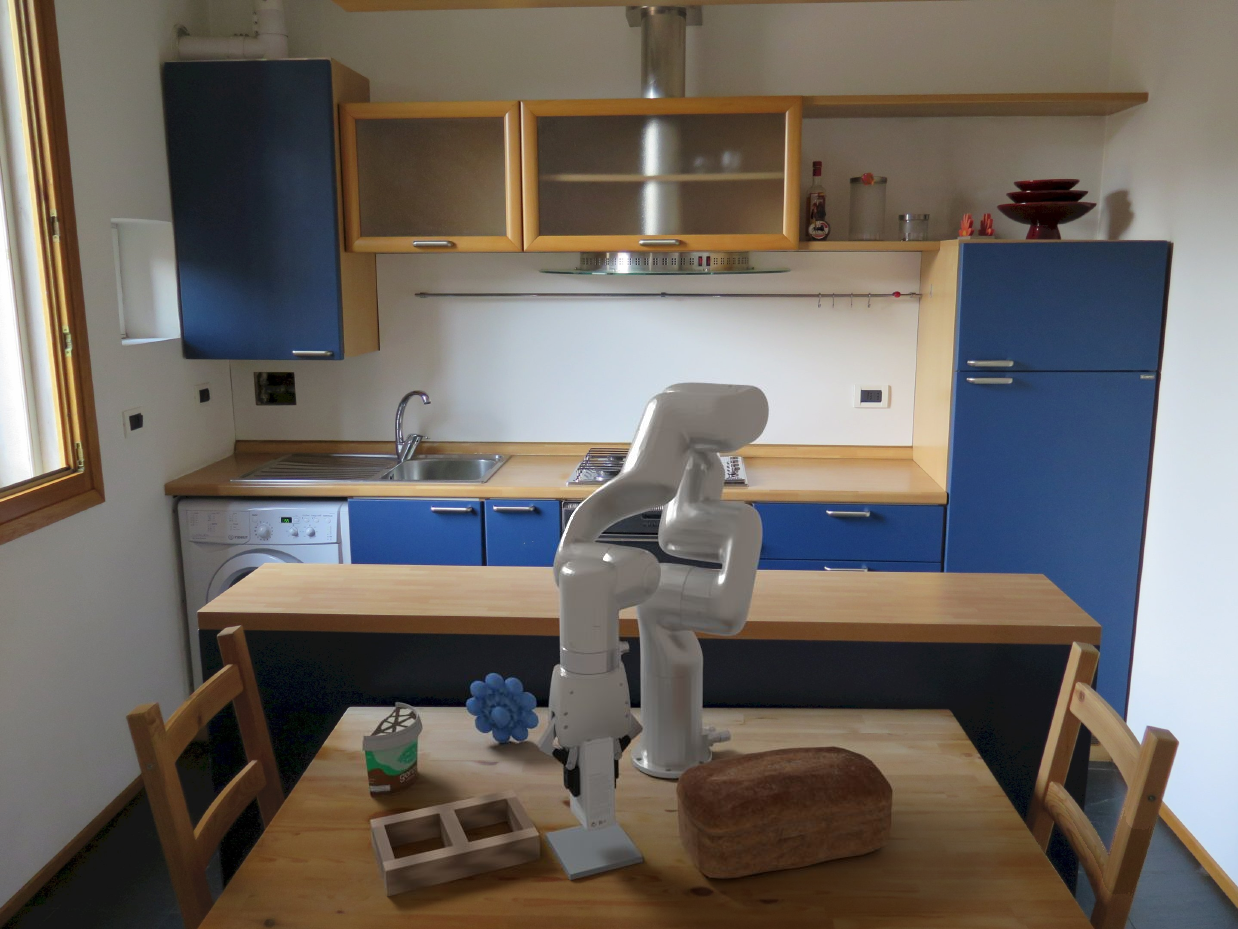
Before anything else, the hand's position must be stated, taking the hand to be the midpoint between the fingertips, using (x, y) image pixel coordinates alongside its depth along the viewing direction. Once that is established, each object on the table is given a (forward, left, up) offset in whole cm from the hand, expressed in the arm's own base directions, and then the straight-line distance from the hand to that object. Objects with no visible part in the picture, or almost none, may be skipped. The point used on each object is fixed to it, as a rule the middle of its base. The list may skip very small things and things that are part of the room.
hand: (591, 787), depth 131 cm
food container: (+20, -28, -10) cm, 36 cm away
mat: (0, 0, -9) cm, 9 cm away
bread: (-24, +9, -10) cm, 27 cm away
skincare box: (0, 0, -5) cm, 5 cm away
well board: (+17, -7, -9) cm, 21 cm away
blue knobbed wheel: (+3, -33, -9) cm, 35 cm away
